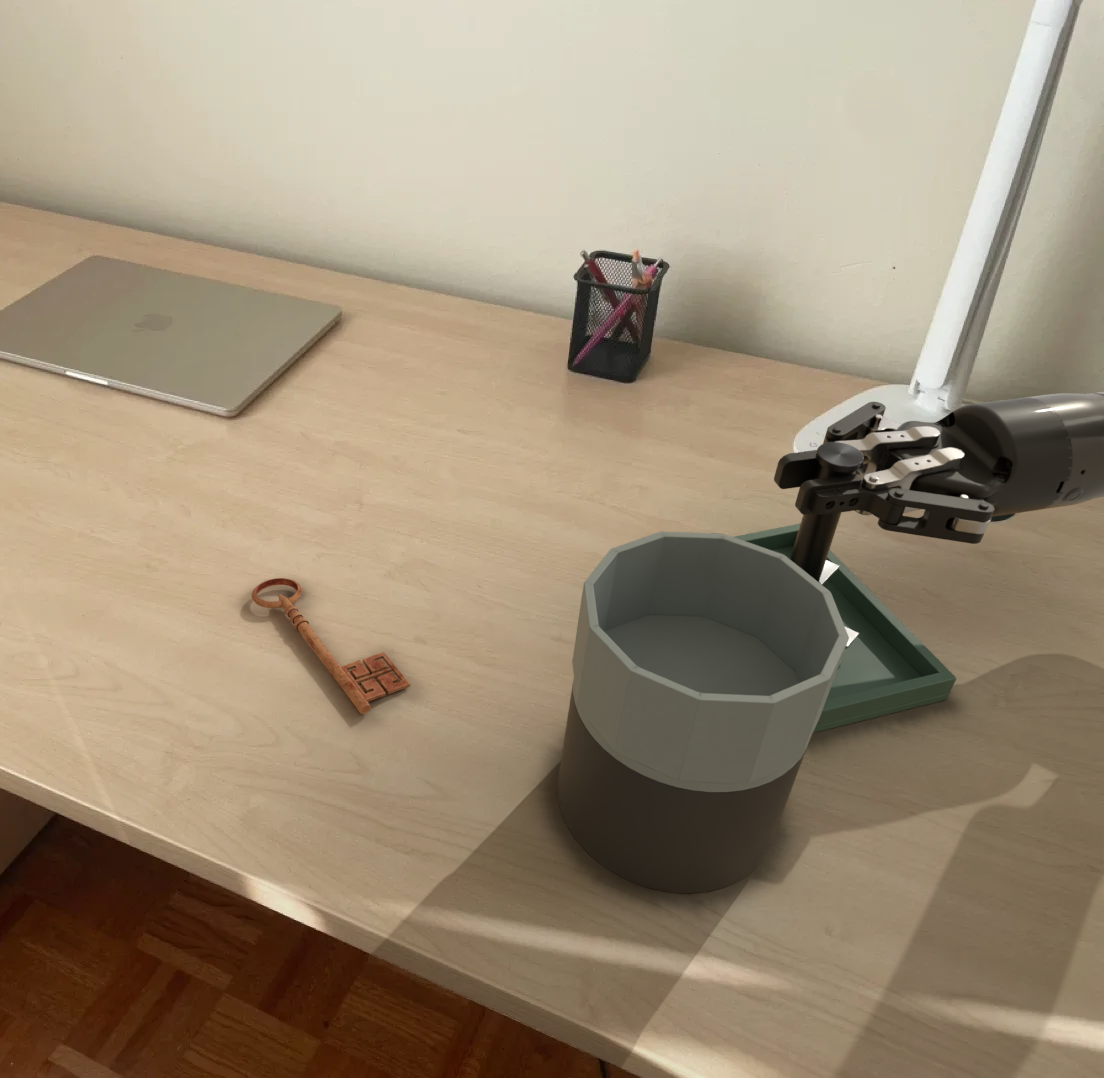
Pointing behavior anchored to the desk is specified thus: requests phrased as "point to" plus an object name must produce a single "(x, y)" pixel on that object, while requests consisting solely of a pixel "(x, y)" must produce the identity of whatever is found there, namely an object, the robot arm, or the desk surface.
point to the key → (332, 665)
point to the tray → (868, 649)
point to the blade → (825, 517)
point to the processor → (692, 705)
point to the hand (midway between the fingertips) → (790, 485)
